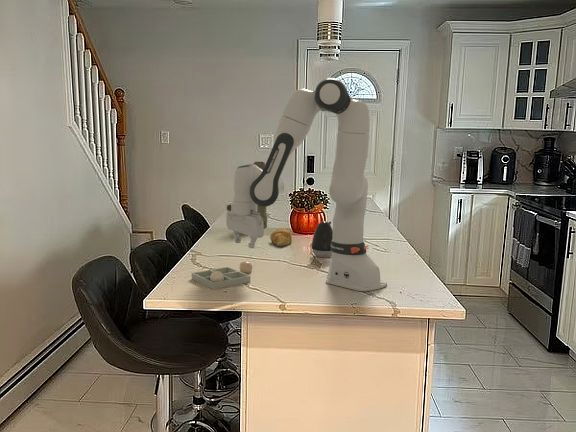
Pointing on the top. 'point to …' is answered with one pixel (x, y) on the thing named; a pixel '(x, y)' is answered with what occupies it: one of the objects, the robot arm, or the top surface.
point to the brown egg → (245, 267)
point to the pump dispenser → (322, 240)
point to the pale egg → (216, 276)
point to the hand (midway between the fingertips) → (244, 245)
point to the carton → (230, 278)
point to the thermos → (259, 208)
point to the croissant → (281, 237)
